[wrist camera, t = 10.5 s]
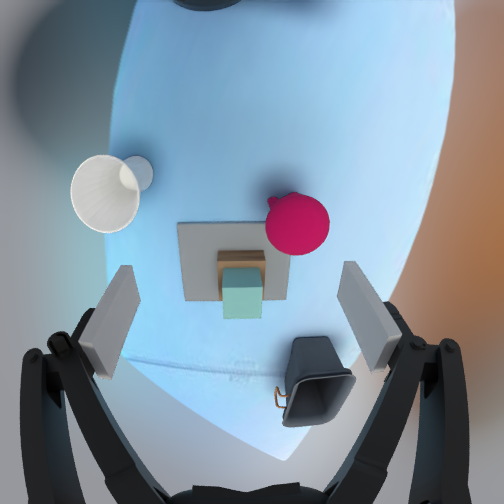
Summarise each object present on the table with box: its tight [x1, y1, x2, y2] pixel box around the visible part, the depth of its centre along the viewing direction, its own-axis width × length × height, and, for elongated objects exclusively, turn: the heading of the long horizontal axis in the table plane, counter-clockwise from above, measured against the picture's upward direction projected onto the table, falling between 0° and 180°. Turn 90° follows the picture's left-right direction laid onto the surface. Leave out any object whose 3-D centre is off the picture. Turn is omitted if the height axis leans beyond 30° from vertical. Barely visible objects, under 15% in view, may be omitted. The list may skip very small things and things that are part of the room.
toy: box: [265, 192, 330, 255], centre depth 40 cm, size 8×8×15 cm
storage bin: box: [274, 337, 356, 427], centre depth 59 cm, size 21×16×14 cm
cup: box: [71, 155, 153, 233], centre depth 37 cm, size 10×10×14 cm
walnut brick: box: [217, 250, 266, 301], centre depth 50 cm, size 8×8×4 cm
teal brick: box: [222, 267, 263, 319], centre depth 45 cm, size 6×6×6 cm
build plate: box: [177, 222, 291, 301], centre depth 51 cm, size 16×20×1 cm
